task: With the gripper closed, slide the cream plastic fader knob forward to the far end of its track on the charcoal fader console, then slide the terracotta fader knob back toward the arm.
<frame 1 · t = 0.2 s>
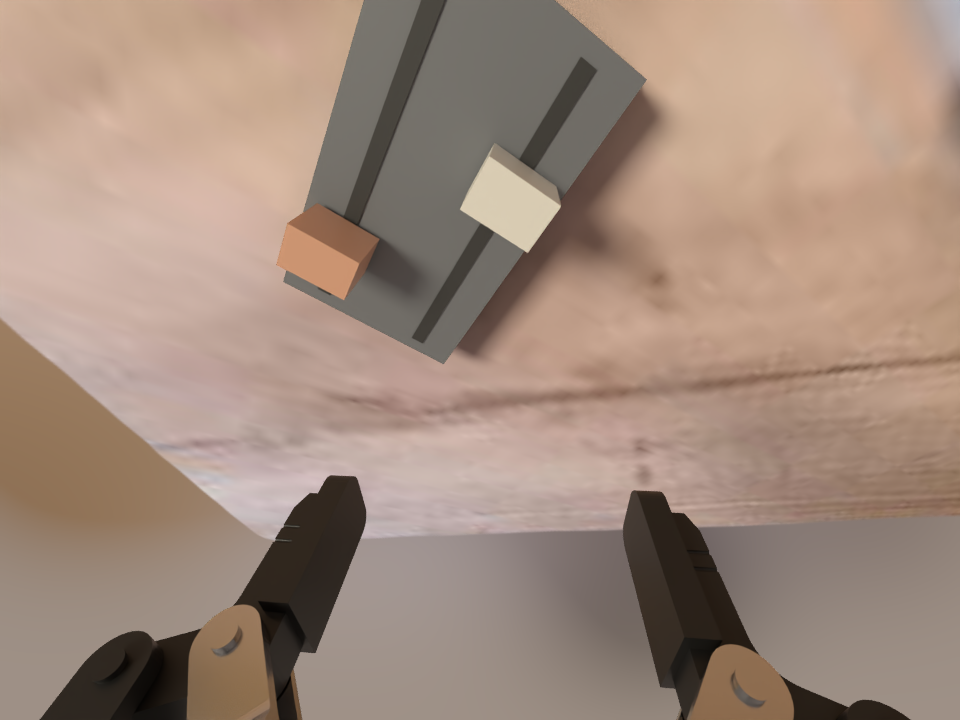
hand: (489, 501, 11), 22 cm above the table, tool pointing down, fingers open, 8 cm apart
terracotta fader: (330, 251, 25), point 5 cm above the table, slide at 0.0 cm
cream fader: (511, 197, 22), point 5 cm above the table, slide at 0.0 cm
fader console: (438, 188, 27), on the table
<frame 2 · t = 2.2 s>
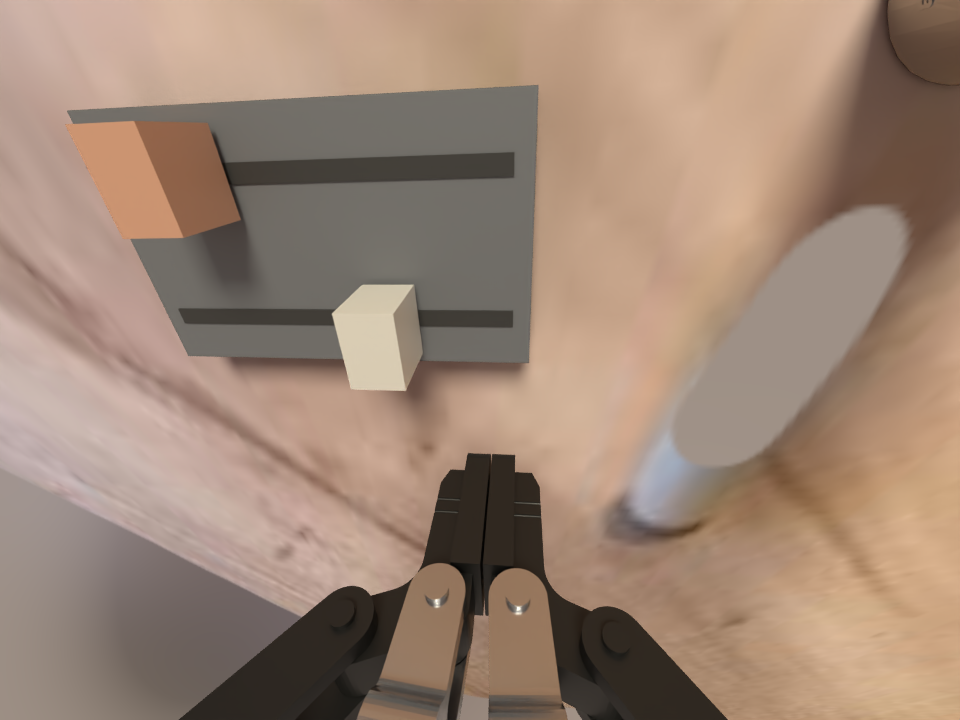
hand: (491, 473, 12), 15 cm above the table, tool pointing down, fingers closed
terracotta fader: (166, 179, 18), point 5 cm above the table, slide at 0.0 cm
cream fader: (383, 335, 21), point 5 cm above the table, slide at 0.0 cm
fader console: (345, 238, 24), on the table
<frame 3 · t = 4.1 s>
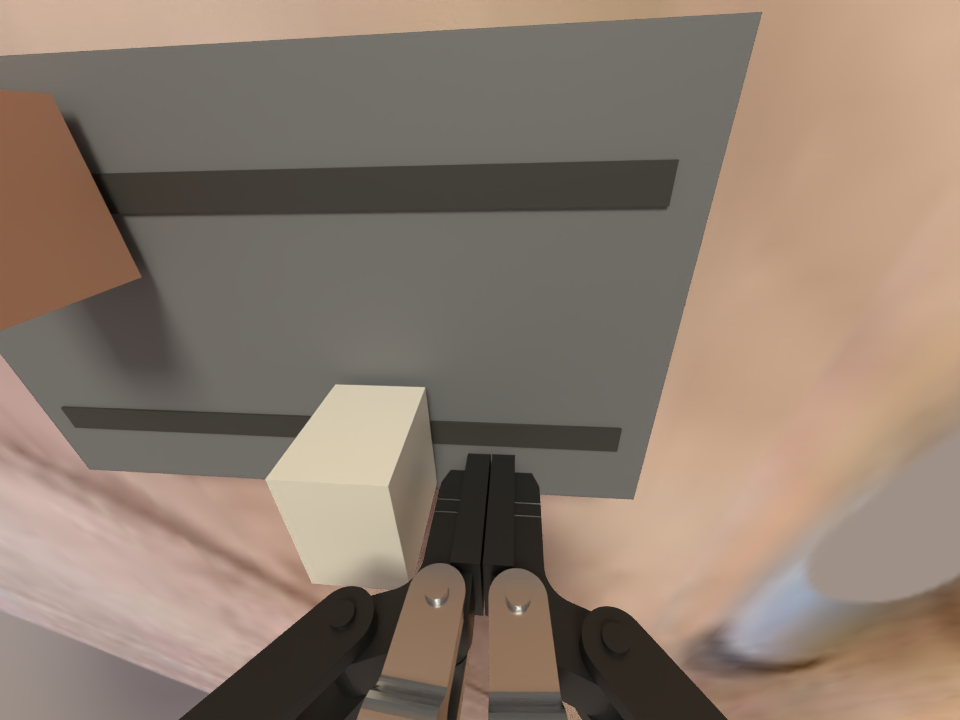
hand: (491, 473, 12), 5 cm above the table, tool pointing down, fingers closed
cream fader: (370, 481, 12), point 5 cm above the table, slide at 1.0 cm, touching gripper
fader console: (335, 294, 15), on the table
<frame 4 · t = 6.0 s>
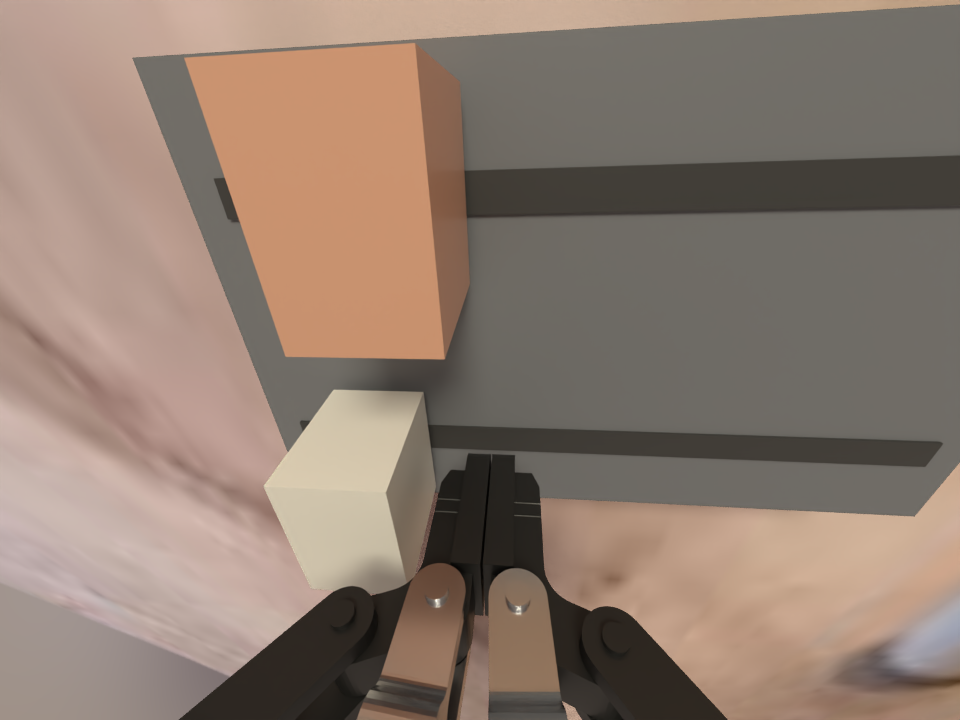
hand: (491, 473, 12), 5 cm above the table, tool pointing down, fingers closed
terracotta fader: (378, 211, 8), point 5 cm above the table, slide at 0.0 cm
cream fader: (369, 486, 12), point 5 cm above the table, slide at 10.7 cm, touching gripper
fader console: (593, 299, 14), on the table
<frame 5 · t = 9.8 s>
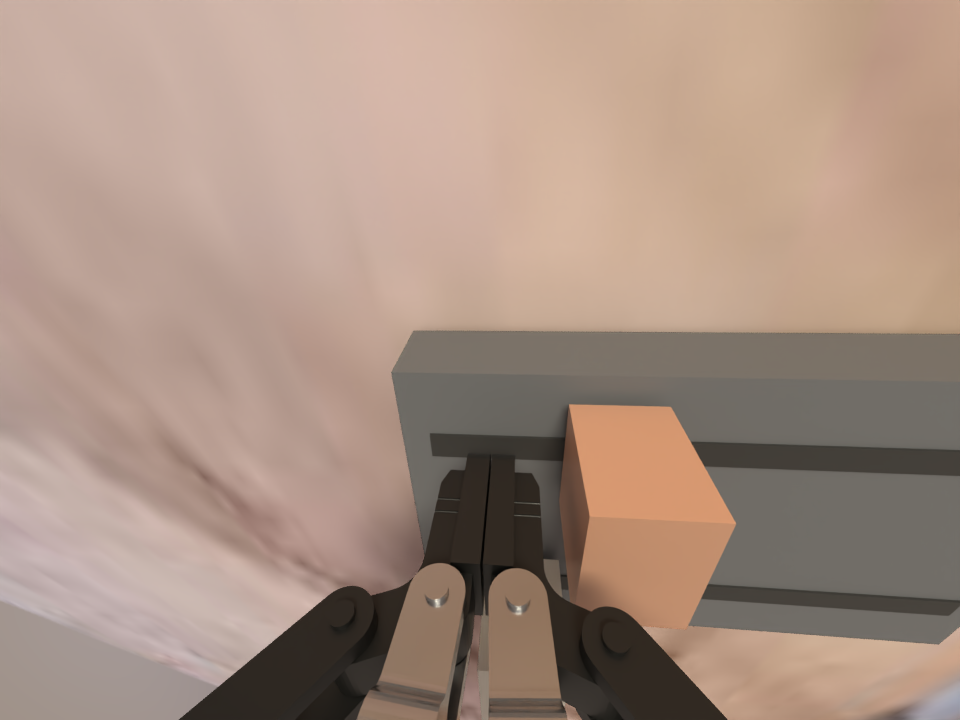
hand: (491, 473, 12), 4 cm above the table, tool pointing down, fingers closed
terracotta fader: (623, 509, 11), point 5 cm above the table, slide at 1.1 cm, touching gripper
cream fader: (521, 638, 15), point 5 cm above the table, slide at 10.7 cm
fader console: (682, 471, 17), on the table
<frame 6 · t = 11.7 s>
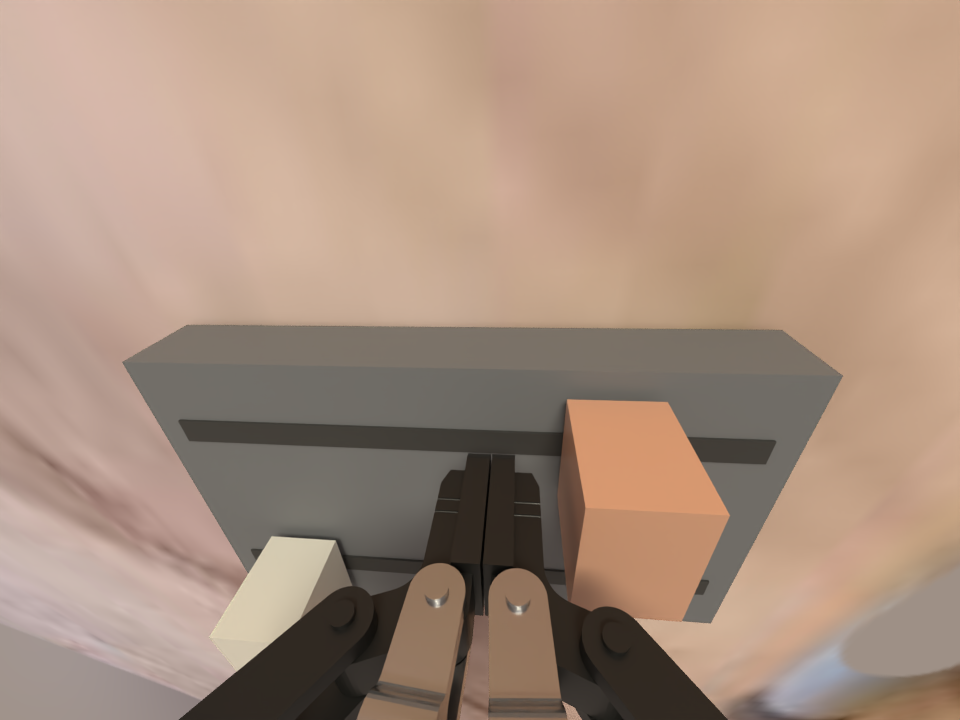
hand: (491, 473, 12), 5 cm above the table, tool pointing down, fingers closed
terracotta fader: (620, 503, 11), point 5 cm above the table, slide at 10.7 cm, touching gripper
cream fader: (294, 612, 16), point 5 cm above the table, slide at 10.7 cm
fader console: (470, 459, 18), on the table
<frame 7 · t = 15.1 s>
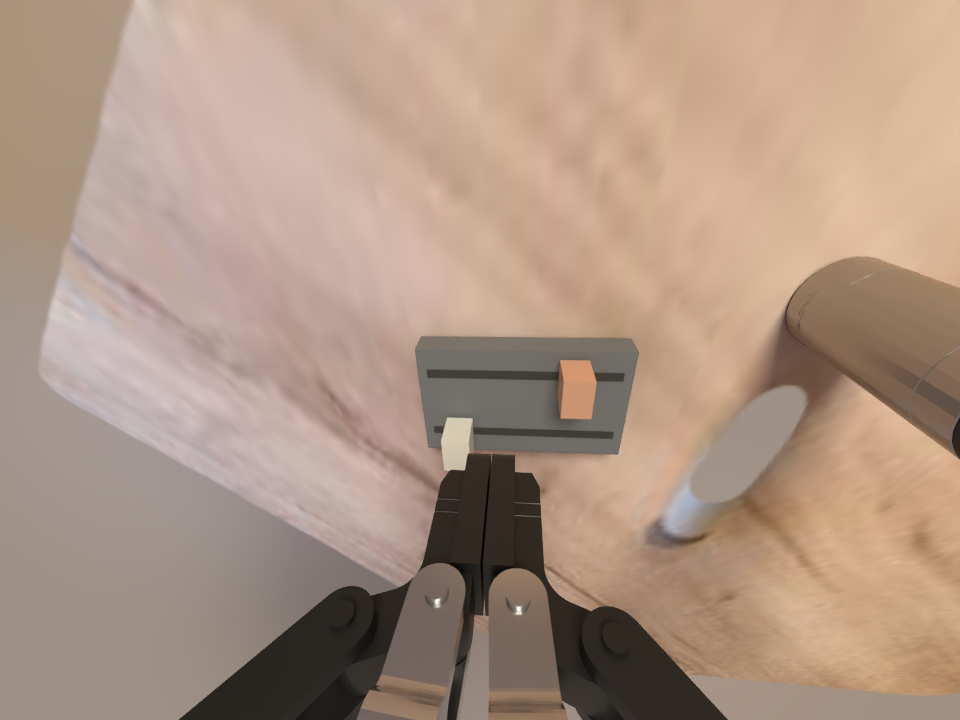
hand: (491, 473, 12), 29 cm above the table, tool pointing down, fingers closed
terracotta fader: (575, 389, 38), point 5 cm above the table, slide at 10.7 cm
cream fader: (458, 444, 44), point 5 cm above the table, slide at 10.7 cm
fader console: (522, 389, 46), on the table
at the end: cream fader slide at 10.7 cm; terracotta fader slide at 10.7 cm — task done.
